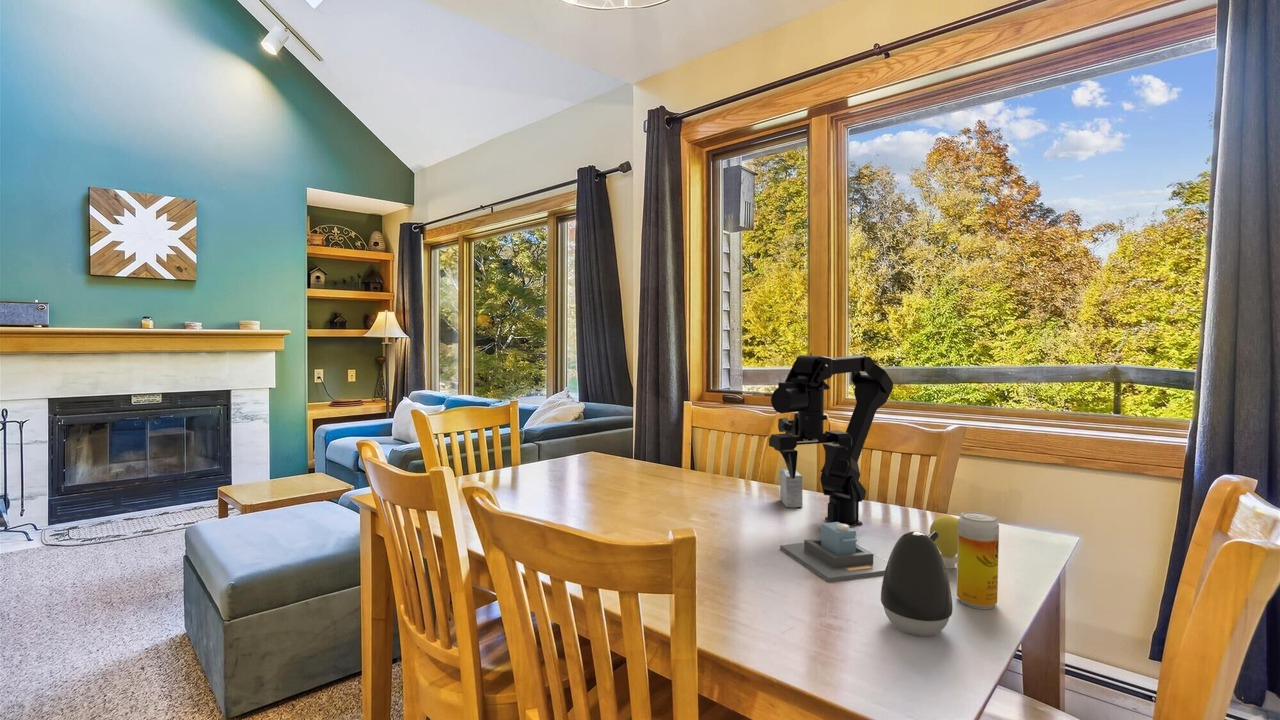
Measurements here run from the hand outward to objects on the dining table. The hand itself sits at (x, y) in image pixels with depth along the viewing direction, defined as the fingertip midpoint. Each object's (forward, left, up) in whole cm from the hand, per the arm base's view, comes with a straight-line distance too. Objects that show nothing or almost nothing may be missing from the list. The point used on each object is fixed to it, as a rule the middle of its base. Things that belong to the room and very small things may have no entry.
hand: (810, 477), depth 139 cm
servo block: (+4, +17, -12) cm, 21 cm away
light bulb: (-15, +26, -13) cm, 33 cm away
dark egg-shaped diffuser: (+9, +45, -13) cm, 48 cm away
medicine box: (-8, -22, -13) cm, 27 cm away
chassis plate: (+4, +17, -13) cm, 22 cm away
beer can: (-7, +40, -13) cm, 43 cm away
